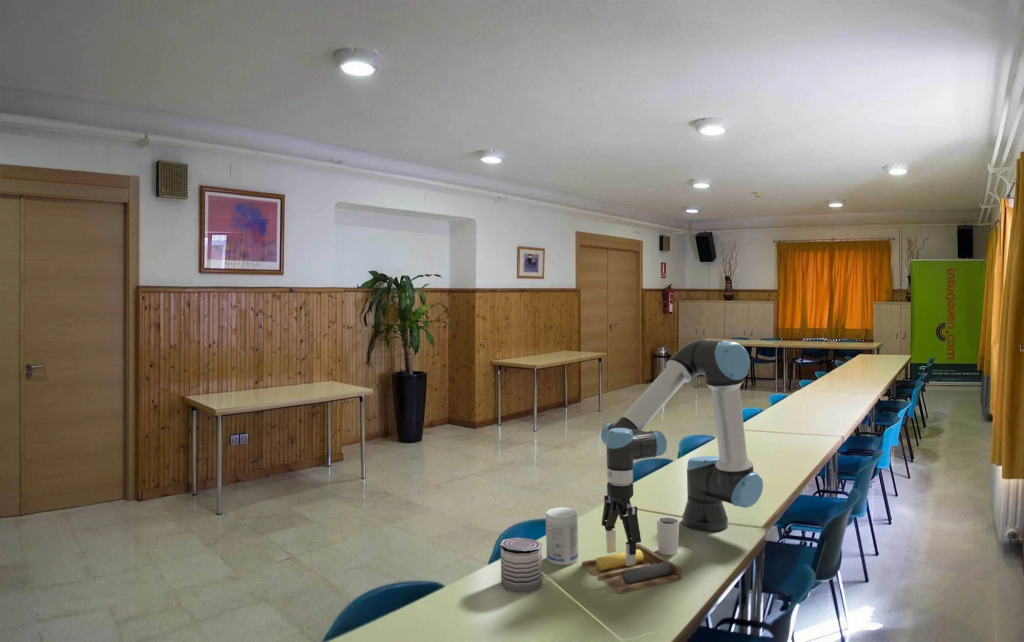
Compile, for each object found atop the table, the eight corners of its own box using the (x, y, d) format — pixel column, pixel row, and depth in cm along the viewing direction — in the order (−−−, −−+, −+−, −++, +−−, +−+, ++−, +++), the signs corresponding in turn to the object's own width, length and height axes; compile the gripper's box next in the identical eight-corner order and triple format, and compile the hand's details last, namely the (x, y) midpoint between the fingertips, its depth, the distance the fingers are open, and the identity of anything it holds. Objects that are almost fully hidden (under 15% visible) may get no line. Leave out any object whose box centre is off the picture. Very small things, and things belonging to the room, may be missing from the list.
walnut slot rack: (638, 554, 198) (638, 543, 198) (680, 580, 180) (680, 568, 180) (581, 566, 190) (581, 555, 190) (619, 594, 172) (619, 582, 172)
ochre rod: (640, 564, 192) (635, 553, 194) (645, 557, 190) (639, 546, 192) (599, 573, 186) (594, 561, 189) (603, 566, 184) (598, 555, 187)
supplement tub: (570, 552, 201) (569, 505, 201) (583, 563, 192) (583, 514, 192) (541, 556, 198) (540, 509, 197) (553, 569, 189) (553, 519, 188)
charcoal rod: (663, 571, 185) (664, 559, 185) (671, 577, 181) (671, 564, 181) (622, 581, 179) (622, 568, 179) (629, 586, 176) (629, 573, 176)
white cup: (679, 557, 196) (679, 524, 195) (657, 556, 197) (656, 523, 197) (678, 549, 202) (678, 517, 202) (656, 547, 204) (656, 516, 203)
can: (492, 583, 180) (492, 541, 179) (525, 572, 187) (524, 531, 186) (518, 598, 171) (517, 553, 170) (551, 586, 178) (550, 543, 177)
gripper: (589, 474, 197) (590, 547, 198) (631, 494, 177) (631, 575, 178) (610, 471, 200) (611, 543, 201) (653, 490, 180) (654, 570, 181)
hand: (620, 558), depth 189 cm, fingers open, 10 cm apart
